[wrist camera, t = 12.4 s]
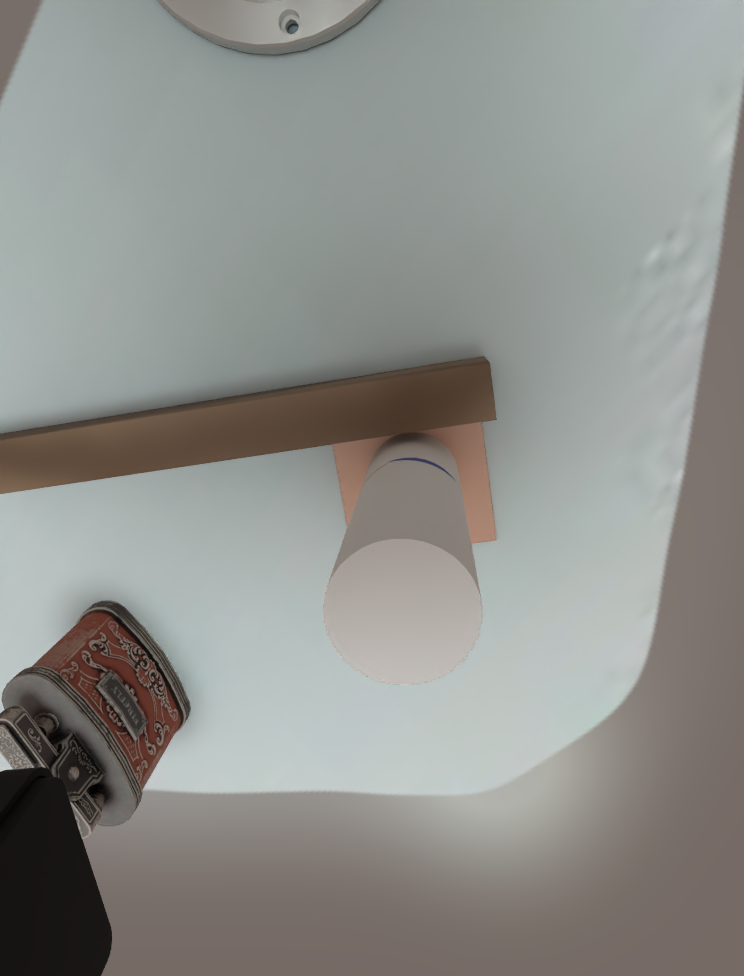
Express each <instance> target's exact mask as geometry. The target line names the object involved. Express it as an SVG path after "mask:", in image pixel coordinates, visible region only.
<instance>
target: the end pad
mask: <svg viewBox="0 0 744 976" xmlns="http://www.w3.org/2000/svg"><path fill="white" fill-rule="evenodd" d="M417 432H418V433H424V434H427V435H430V436H432V437H435V438H436V439H438V440H439V441H441V442H442V443H443V444H444V445H445V446H446V447H447V448H448V449H449V450H450V451H451V453H452V454H453V456H454V458H455V461H456V463H457V467H458V472H459V478H460V483H461V489H462V495H463V500H464V506H465V511H466V517H467V523H468V528H469V534H470V540H471V543H479V542H487V541H494V540H496V532H495V524H494V516H493V509H492V501H491V493H490V485H489V477H488V470H487V462H486V454H485V446H484V439H483V431H482V423H481V422H477V423H471V424H464V425H457V426H451V427H444V428H437V429H431V430H424V431H417ZM397 435H398V434H397ZM394 436H396V435H391V436H384V437H377V438H371V439H364V440H357V441H351V442H344V443H337V444H333V450H334V455H335V461H336V466H337V472H338V477H339V483H340V488H341V494H342V499H343V504H344V510H345V515H346V521H347V526H348V525H349V522H350V519H351V516H352V513H353V510H354V508H355V505H356V502H357V499H358V496H359V493H360V490H361V487H362V484H363V481H364V479H365V476H366V473H367V470H368V467H369V464H370V462H371V459H372V457H373V455H374V453H375V452H376V450H377V449H378V448H379V447H380V446H381V445H382V444H383V443H384V442H385V441H387V440H388V439H390V438H391V437H394Z"/></svg>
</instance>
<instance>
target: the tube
mask: <svg viewBox="0 0 744 976" xmlns="http://www.w3.org/2000/svg"><path fill="white" fill-rule="evenodd" d="M323 614H324V624H325V627H326V631H327V634H328V637H329V639H330V641H331V643H332V645H333V646H334V648H335V649H336V651H337V652H338V653H339V655H340V656H341V657H342V659H344V660H345V661H346V662H347V663H348V664H349V665H350V666H351V667H352V668H354V669H355V670H357V671H359V672H360V673H362V674H363V675H365V676H367V677H370V678H372V679H375V680H377V681H380V682H384V683H389V684H395V685H415V684H420V683H426V682H429V681H432V680H435V679H437V678H440V677H442V676H444V675H445V674H447V673H449V672H451V671H452V670H453V669H455V668H456V667H457V666H458V665H459V664H460V663H462V662H463V661H464V660H465V658H466V657H467V656H468V654H469V653H470V652H471V650H472V649H473V647H474V645H475V643H476V641H477V639H478V637H479V633H480V629H481V624H482V602H481V596H480V590H479V585H478V579H477V574H476V568H475V562H474V557H473V551H472V545H471V540H470V534H469V528H468V523H467V517H466V511H465V506H464V500H463V495H462V489H461V483H460V478H459V472H458V467H457V463H456V461H455V458H454V456H453V454H452V453H451V451H450V450H449V449H448V448H447V447H446V446H445V445H444V444H443V443H442V442H441V441H439V440H438V439H436V438H435V437H432V436H430V435H427V434H424V433H418V432H411V433H404V434H398V435H396V436H394V437H391V438H390V439H388V440H387V441H385V442H384V443H383V444H382V445H381V446H380V447H379V448H378V449H377V450H376V452H375V453H374V455H373V457H372V459H371V462H370V464H369V467H368V470H367V473H366V476H365V479H364V481H363V484H362V487H361V490H360V493H359V496H358V499H357V502H356V505H355V508H354V510H353V513H352V516H351V519H350V522H349V525H348V528H347V531H346V534H345V537H344V540H343V542H342V545H341V548H340V551H339V554H338V557H337V560H336V563H335V566H334V569H333V572H332V574H331V577H330V580H329V583H328V586H327V589H326V592H325V598H324V604H323Z"/></svg>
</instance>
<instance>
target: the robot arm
mask: <svg viewBox="0 0 744 976" xmlns="http://www.w3.org/2000/svg"><path fill="white" fill-rule="evenodd" d="M158 1H159V2H160V3H161V4H162V5H163V7H164V8H165V9H166V10H167V11H168V12H169V13H170V14H172V15H173V16H174V17H175V18H177V19H178V20H179V21H180V22H182V23H183V24H184V25H185V26H187V27H188V28H189V29H190V30H192V31H193V32H195V33H197V34H199V35H201V36H202V37H204V38H206V39H208V40H210V41H212V42H214V43H216V44H218V45H220V46H224V47H227V48H231V49H235V50H238V51H242V52H245V53H256V54H273V55H277V54H283V53H289V52H296V51H302V50H306V49H308V48H311V47H313V46H316V45H319V44H321V43H324V42H326V41H329V40H331V39H333V38H335V37H336V36H338V35H339V34H341V33H342V32H344V31H345V30H347V29H348V28H350V27H351V26H353V25H355V24H356V23H358V22H359V21H360V20H361V19H362V18H363V17H364V16H365V15H366V14H367V13H368V12H369V11H370V10H371V9H372V8H373V7H374V6H375V5H376V4H377V3H378V2H379V1H380V0H158ZM291 24H297V25H298V30H297V32H295V33H294V34H289V33H287V30H288V27H289V25H291ZM111 943H112V931H111V926H110V923H109V920H108V917H107V914H106V911H105V908H104V904H103V902H102V898H101V895H100V892H99V889H98V886H97V883H96V880H95V877H94V874H93V871H92V868H91V865H90V862H89V858H88V855H87V852H86V849H85V846H84V843H83V840H82V837H81V834H80V831H79V828H78V825H77V822H76V819H75V815H74V812H73V809H72V806H71V803H70V800H69V797H68V794H67V791H66V788H65V785H64V783H63V781H62V780H61V779H60V778H58V777H53V775H52V773H51V772H50V771H49V770H48V769H47V768H44V767H35V768H24V769H13V770H4V771H1V772H0V976H101V974H102V972H103V970H104V968H105V965H106V963H107V961H108V958H109V955H110V951H111Z"/></svg>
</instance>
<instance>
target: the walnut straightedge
mask: <svg viewBox="0 0 744 976" xmlns="http://www.w3.org/2000/svg"><path fill="white" fill-rule="evenodd" d="M491 420H497V419H496V411H495V403H494V395H493V387H492V378H491V370H490V363H489V361H488V360H487V359H486V358H485V357H478V358H471V359H465V360H459V361H453V362H446V363H440V364H434V365H428V366H422V367H415V368H409V369H403V370H397V371H390V372H384V373H378V374H372V375H365V376H359V377H353V378H347V379H340V380H334V381H328V382H322V383H316V384H309V385H303V386H297V387H291V388H284V389H278V390H272V391H266V392H259V393H253V394H247V395H241V396H234V397H228V398H222V399H216V400H210V401H203V402H197V403H191V404H185V405H178V406H172V407H166V408H160V409H153V410H147V411H141V412H135V413H128V414H122V415H116V416H110V417H104V418H97V419H91V420H85V421H79V422H72V423H66V424H60V425H54V426H47V427H41V428H35V429H29V430H22V431H16V432H10V433H4V434H0V494H4V493H11V492H17V491H24V490H31V489H37V488H44V487H51V486H57V485H64V484H71V483H77V482H84V481H91V480H97V479H104V478H111V477H117V476H124V475H131V474H137V473H144V472H151V471H157V470H164V469H171V468H177V467H184V466H191V465H197V464H204V463H211V462H217V461H224V460H231V459H237V458H244V457H251V456H257V455H264V454H271V453H277V452H284V451H291V450H297V449H304V448H311V447H317V446H324V445H331V444H337V443H344V442H351V441H357V440H364V439H371V438H377V437H384V436H391V435H397V434H404V433H411V432H417V431H424V430H431V429H437V428H444V427H451V426H457V425H464V424H471V423H477V422H484V421H491Z"/></svg>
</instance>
